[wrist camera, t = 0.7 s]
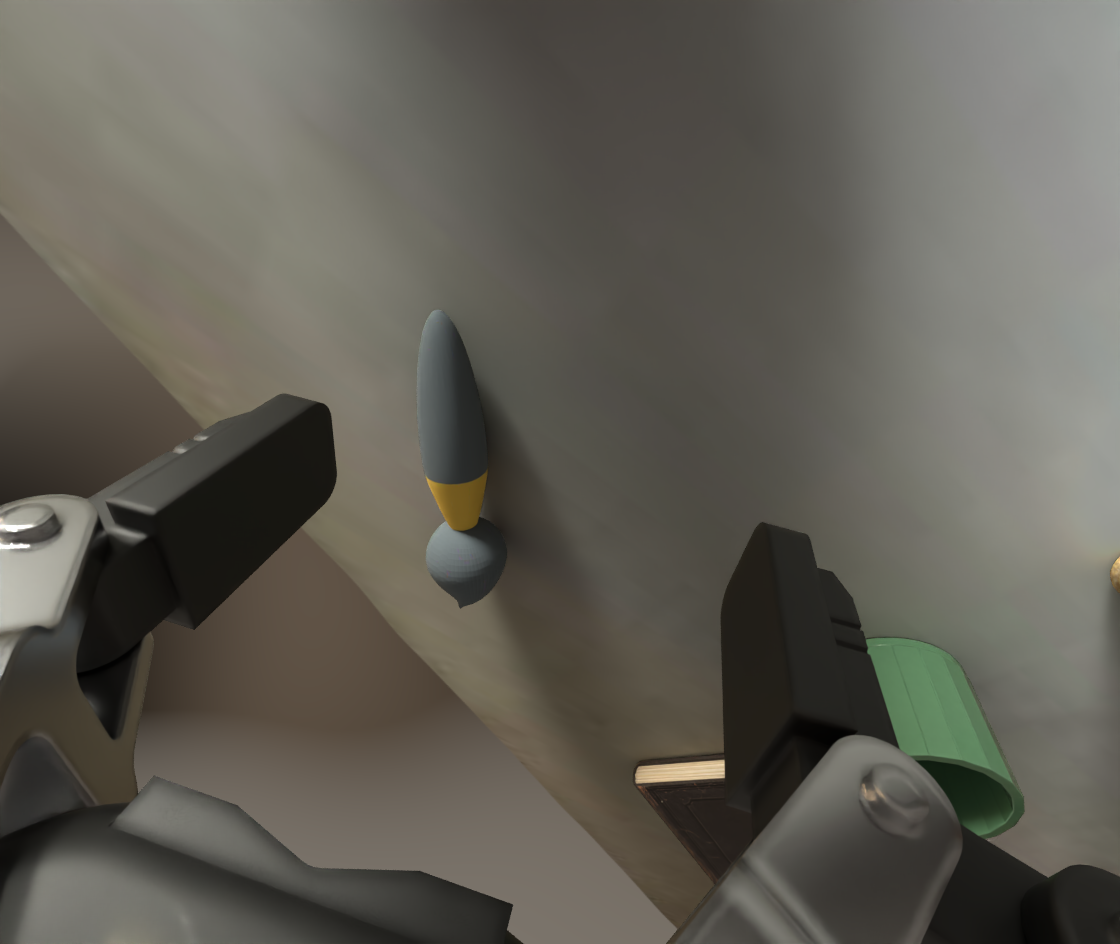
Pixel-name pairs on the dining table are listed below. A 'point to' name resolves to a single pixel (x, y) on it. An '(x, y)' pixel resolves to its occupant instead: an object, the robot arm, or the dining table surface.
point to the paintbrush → (455, 465)
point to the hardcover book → (696, 808)
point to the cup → (947, 732)
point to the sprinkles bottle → (1116, 575)
